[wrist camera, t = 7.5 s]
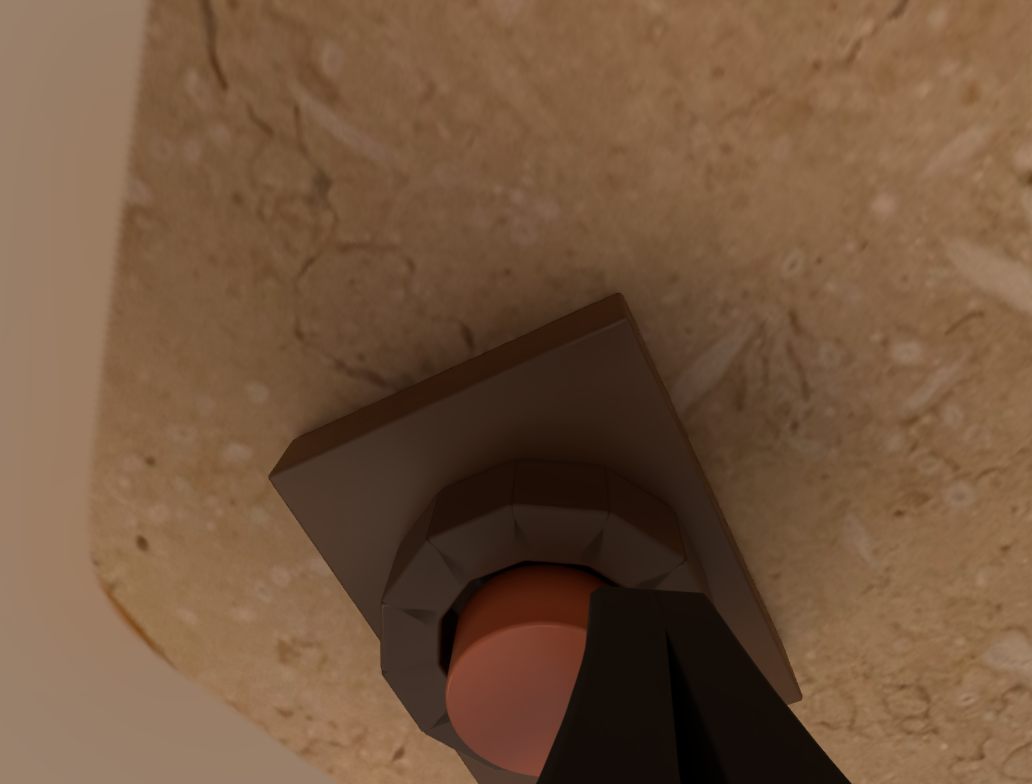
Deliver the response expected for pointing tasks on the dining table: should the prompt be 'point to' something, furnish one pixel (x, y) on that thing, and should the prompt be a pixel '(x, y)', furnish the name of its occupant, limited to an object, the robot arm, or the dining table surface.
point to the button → (518, 662)
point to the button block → (517, 500)
